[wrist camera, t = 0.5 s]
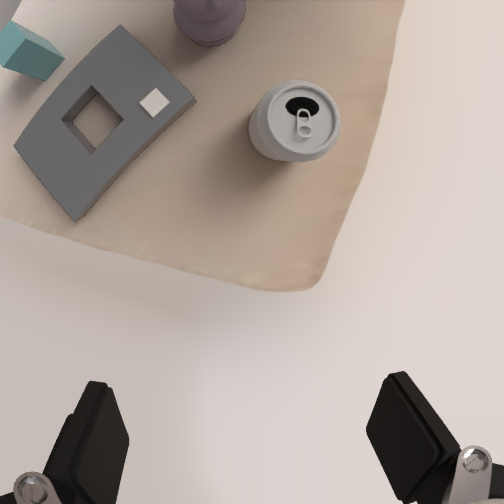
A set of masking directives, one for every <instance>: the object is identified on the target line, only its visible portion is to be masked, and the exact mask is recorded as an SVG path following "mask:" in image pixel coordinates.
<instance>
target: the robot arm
mask: <svg viewBox="0 0 504 504" xmlns="http://www.w3.org/2000/svg"><path fill="white" fill-rule="evenodd" d="M366 432H367V436H368V438H369V440H370V442H371V444H372V446H373V448H374V450H375V453H376V455H377V457H378V459H379V461H380V463H381V465H382V467H383V469H384V472H385V474H386V476H387V478H388V480H389V482H390V484H391V486H392V489H393V491H394V493H395V495H396V497H397V499H398V500H402V502H403V504H410V503H412V502H415V501H417V503H418V504H504V466H503V465H498V464H494V463H492V458H491V456H490V454H489V453H488V451H487V450H485V449H483V448H482V447H479V446H468V447H466V448H464V449H463V450H461V449H460V448H459V447H460V445H459V444H458V442H457V441H456V440H455V438H454V437H453V436H452V434H451V432H450V431H449V430H448V428H447V427H446V426H445V424H444V423H443V421H442V420H441V419H440V417H439V416H438V414H437V413H436V412H435V411H434V409H433V408H432V406H431V405H430V404H429V402H428V401H427V399H426V398H425V397H424V395H423V394H422V393H421V391H420V390H419V389H418V387H417V386H416V385H415V384H414V382H413V381H412V380H411V378H410V377H409V376H408V374H407V373H406V372H404V371H401V372H397V373H391V374H389V375H388V377H387V378H386V379H384V381H383V384H382V387H381V389H380V392H379V395H378V398H377V401H376V403H375V406H374V408H373V411H372V414H371V416H370V419H369V421H368V424H367V426H366ZM128 446H129V436H128V433H127V431H126V428H125V425H124V423H123V420H122V417H121V414H120V411H119V408H118V405H117V402H116V399H115V396H114V393H113V390H112V388H110V387H108V386H107V384H106V383H104V382H96V381H89V382H88V384H87V386H86V388H85V390H84V392H83V394H82V396H81V398H80V400H79V402H78V404H77V407H76V409H75V411H74V413H73V414H70V415H68V417H67V418H66V420H65V423H64V425H63V427H62V429H61V431H60V433H59V436H58V438H57V440H56V442H55V445H54V447H53V449H52V452H51V454H50V456H49V459H48V461H47V463H46V466H45V468H44V470H43V473H42V474H41V473H38V472H26V473H24V474H22V475H20V476H19V477H18V478H17V479H16V481H15V483H14V488H13V489H14V492H11V493H8V494H5V495H2V496H0V504H116V500H117V495H118V490H119V485H120V481H121V476H122V472H123V467H124V463H125V459H126V455H127V451H128Z"/></svg>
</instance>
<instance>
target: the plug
mask: <svg viewBox="0 0 504 504" xmlns="http://www.w3.org/2000/svg"><path fill="white" fill-rule="evenodd" d="M64 59H65V58H64V57H63V56H62V55H61V54H60V53H59V52H58V51H57V50H56V49H55V47H54V46H53V45H52V44H51V43H50V42H49V41H48V40H46V39H44V38H42V37H41V36H39V35H37V34H35V33H34V32H32V31H30V30H28V29H26V28H24V27H23V26H21V25H19V24H17V23H15V22H13V21H11V20H10V22H9V23H8V24H7V25H6V26H5V28H4V29H3V30H2V31H1V32H0V64H1V65H2V67H4V68H7V69H10V70H13V71H17V72H20V73H23V74H26V75H29V76H32V77H35V78H38V79H40V80H43V81H46V79H47V78H48V77H49V76H50V75H51V73H52V72H53V71H54V70H55V69H56V68H57V67H58V65H59V64H60V63H61V62H62V61H63V60H64Z"/></svg>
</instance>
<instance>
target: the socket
mask: <svg viewBox="0 0 504 504" xmlns="http://www.w3.org/2000/svg"><path fill="white" fill-rule="evenodd" d="M98 92H99V93H100V94H101V95H102V97H103V98H104V99H105V100H106V101H107V102H108V103H109V104H110V105H111V106H112V107H113V108H114V110H115V111H116V112H117V113H118V114H119V115H120V116H121V117H122V118H123V119H124V120H123V121H122V122H121V123H120V124H119V125H118V126H117V127H116V128H115V129H114V130H113V131H112V132H111V133H110V135H109V136H108V137H107V138H106V139H105V140H104V141H103V142H102V143H101V144H100V146H99V147H98V148H97V149H95V148H94V147H93V146H92V144H91V143H90V142H89V141H88V140H87V139H86V138H85V136H84V135H83V134H82V133H81V132H80V131H79V129H78V128H77V127H76V126H75V125H74V124H73V123H72V120H73V119H74V118H75V117H76V116H77V115H78V113H79V112H80V111H81V110H82V109H83V108H84V107H85V106H86V104H87V103H88V102H89V101H90V100H91V99H92V98H93V97H94V96H95V95H96V94H97V93H98ZM196 102H197V101H196V99H195V97H194V96H193V95H192V94H191V93H190V92H189V91H188V90H187V89H186V88H185V87H184V86H183V85H182V84H181V83H180V82H179V81H178V80H177V79H176V78H175V77H174V76H173V75H172V74H171V73H170V72H169V71H168V70H167V69H166V68H165V67H164V66H163V65H162V64H161V63H160V62H159V61H158V60H157V59H156V58H155V57H154V56H153V55H152V54H151V53H150V52H149V51H148V50H147V49H146V48H145V47H144V46H143V45H142V44H141V43H140V42H139V41H138V40H136V39H135V38H134V37H133V36H132V35H131V34H130V33H129V32H128V31H127V30H126V29H125V28H124V27H122V26H121V25H119V26H118V27H117V28H115V29H114V30H113V31H112V32H111V33H110V34H109V35H108V36H106V37H105V38H104V39H103V40H102V41H101V42H100V43H99V44H98V45H97V46H96V47H95V48H94V49H93V50H92V51H91V52H90V53H89V54H88V55H87V56H86V57H85V58H84V59H83V60H82V61H81V62H80V63H79V64H78V65H77V66H76V67H75V68H74V69H73V70H72V71H71V72H70V73H69V75H68V76H67V77H66V78H65V79H64V80H63V81H62V82H61V84H60V85H59V86H58V87H57V88H56V89H55V91H54V92H53V93H52V94H51V95H50V97H49V98H48V99H47V100H46V102H45V103H44V104H43V105H42V107H41V108H40V109H39V110H38V112H37V113H36V114H35V116H34V117H33V118H32V120H31V121H30V123H29V124H28V125H27V127H26V128H25V130H24V131H23V132H22V134H21V135H20V137H19V138H18V140H17V141H16V143H15V144H14V147H15V149H16V150H17V152H18V153H19V154H20V156H21V157H22V158H23V160H24V161H25V162H26V164H27V165H28V166H29V168H30V169H31V170H32V171H33V173H34V174H35V175H36V177H37V178H38V179H39V180H40V182H41V183H42V184H43V185H44V187H45V188H46V189H47V190H48V191H49V193H50V194H51V195H52V196H53V198H54V199H55V200H56V201H57V202H58V204H59V205H60V206H61V207H62V208H63V209H64V211H65V212H66V213H67V214H68V215H69V216H70V217H71V219H72V220H73V221H76V220H78V219H80V218H82V217H84V216H85V215H86V213H87V212H88V211H89V210H90V209H91V207H92V206H93V205H94V204H95V203H96V201H97V200H98V199H99V198H100V197H101V196H102V195H103V193H104V192H105V191H106V190H107V189H108V188H109V187H110V186H111V184H112V183H113V182H114V181H115V180H116V179H117V178H118V177H119V176H120V175H121V174H122V172H123V171H124V170H125V169H126V168H127V167H128V166H129V165H130V164H131V163H132V162H133V161H134V160H135V159H136V158H137V157H138V156H139V155H140V154H141V153H142V152H143V151H144V150H145V149H146V148H147V147H148V146H149V145H150V144H151V143H152V142H153V141H154V140H155V139H156V138H157V137H158V136H159V135H160V134H161V133H162V132H163V131H164V130H165V129H167V128H168V127H169V126H170V125H171V124H172V123H173V122H174V121H175V120H176V119H177V118H179V117H180V116H181V115H182V114H183V113H184V112H185V111H186V110H188V109H189V108H190V107H191V106H192V105H193V104H194V103H196Z"/></svg>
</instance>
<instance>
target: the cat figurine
mask: <svg viewBox="0 0 504 504" xmlns="http://www.w3.org/2000/svg"><path fill="white" fill-rule="evenodd" d="M174 3H175V5H174V9H173V10H174V20H175V22H176V24H177V26H178V28H179V29H180V30H181V31H182V32H183V33H184V34H185V35H186V36H188V37H189V38H190V39H191V40H192V41H194V42H195V43H197V44H199V45H202V46H210V47H211V46H218V45H221V44H223V43H225V42H227V41H228V40H230V39H231V38H232V37H233V36H234V34H235V33H236V31H237V28H238V27H239V26H240V24H241V22H242V21H243V19H244V16H245V11H246V5H245V0H174Z"/></svg>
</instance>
